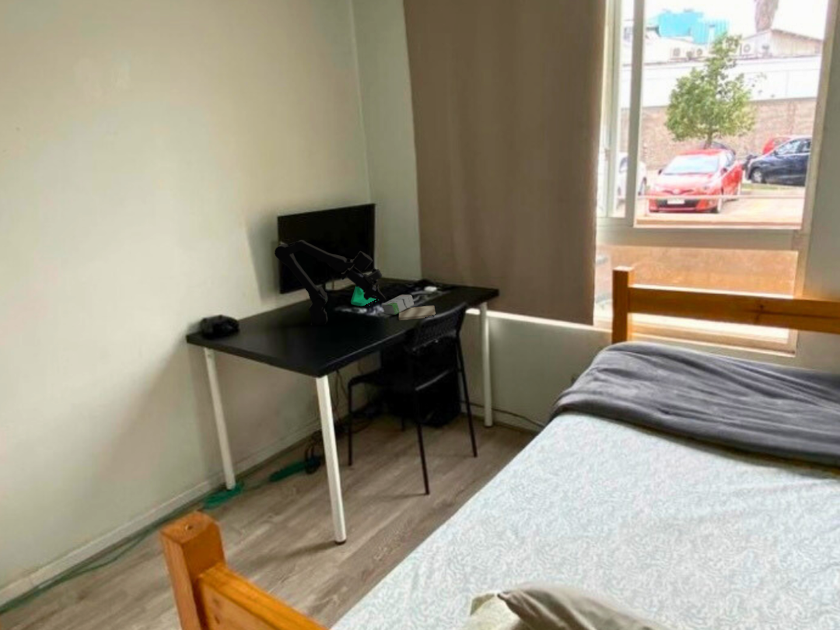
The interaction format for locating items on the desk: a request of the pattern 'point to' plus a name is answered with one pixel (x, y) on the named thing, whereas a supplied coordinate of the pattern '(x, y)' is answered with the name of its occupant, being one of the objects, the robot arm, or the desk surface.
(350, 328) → the desk surface
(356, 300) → the camera mount
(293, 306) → the desk surface
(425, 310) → the birch board
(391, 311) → the ink box
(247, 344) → the desk surface
